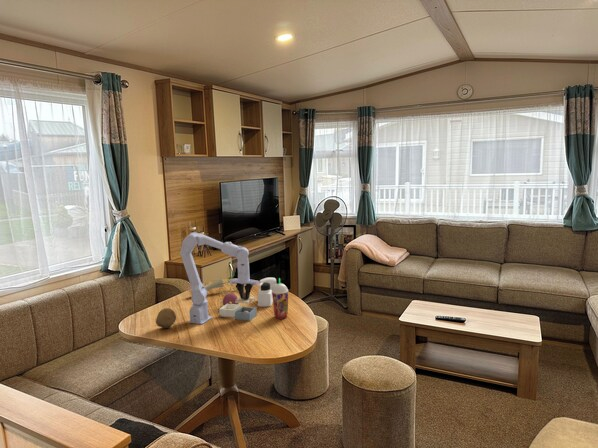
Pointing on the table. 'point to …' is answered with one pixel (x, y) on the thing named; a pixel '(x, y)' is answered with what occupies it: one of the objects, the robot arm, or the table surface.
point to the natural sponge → (165, 318)
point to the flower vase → (217, 284)
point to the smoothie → (280, 300)
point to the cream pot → (229, 310)
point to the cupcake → (229, 299)
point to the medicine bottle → (264, 295)
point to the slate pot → (243, 315)
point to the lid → (244, 299)
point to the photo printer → (269, 280)
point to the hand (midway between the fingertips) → (245, 298)
